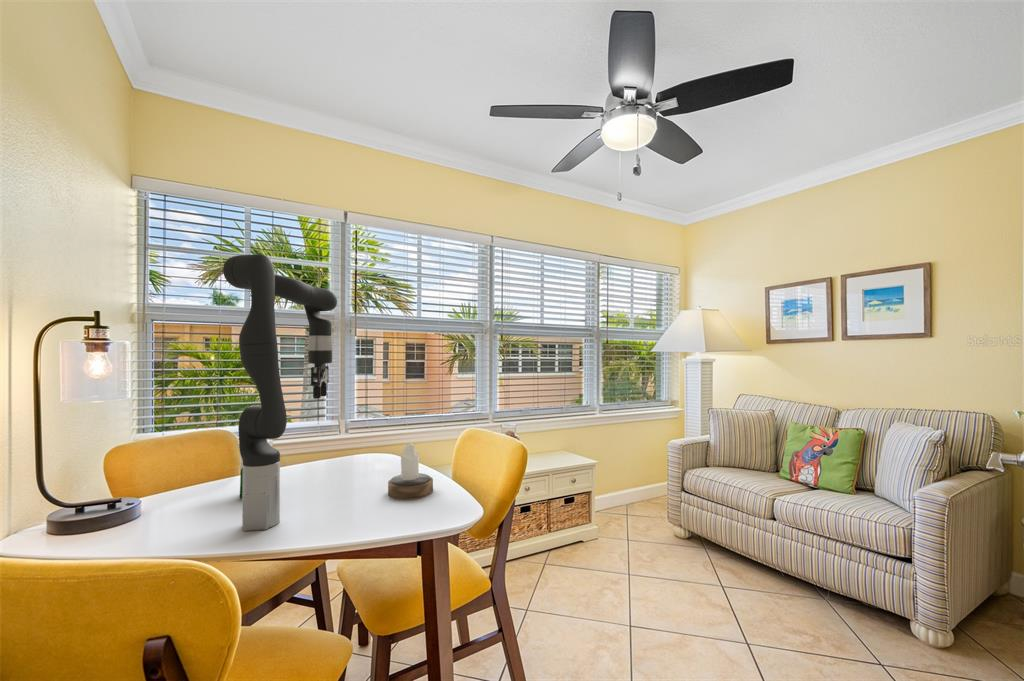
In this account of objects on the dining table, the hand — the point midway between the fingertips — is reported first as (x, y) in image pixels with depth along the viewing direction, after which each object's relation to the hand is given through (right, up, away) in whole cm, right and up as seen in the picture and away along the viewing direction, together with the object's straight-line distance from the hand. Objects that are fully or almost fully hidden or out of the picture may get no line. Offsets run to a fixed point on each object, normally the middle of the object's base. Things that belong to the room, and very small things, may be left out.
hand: (320, 397), depth 154 cm
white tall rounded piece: (+30, -28, +2) cm, 41 cm away
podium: (+30, -33, +2) cm, 45 cm away
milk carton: (-22, -34, +1) cm, 40 cm away
